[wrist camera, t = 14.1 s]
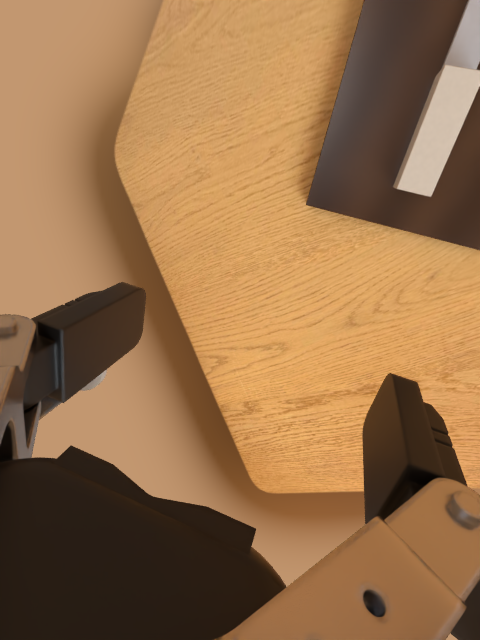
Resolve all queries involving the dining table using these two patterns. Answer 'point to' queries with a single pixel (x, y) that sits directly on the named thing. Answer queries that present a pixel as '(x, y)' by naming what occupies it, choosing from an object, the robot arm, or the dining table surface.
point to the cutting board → (398, 126)
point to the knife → (444, 108)
